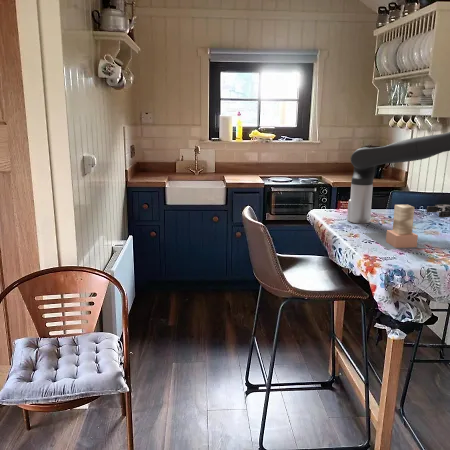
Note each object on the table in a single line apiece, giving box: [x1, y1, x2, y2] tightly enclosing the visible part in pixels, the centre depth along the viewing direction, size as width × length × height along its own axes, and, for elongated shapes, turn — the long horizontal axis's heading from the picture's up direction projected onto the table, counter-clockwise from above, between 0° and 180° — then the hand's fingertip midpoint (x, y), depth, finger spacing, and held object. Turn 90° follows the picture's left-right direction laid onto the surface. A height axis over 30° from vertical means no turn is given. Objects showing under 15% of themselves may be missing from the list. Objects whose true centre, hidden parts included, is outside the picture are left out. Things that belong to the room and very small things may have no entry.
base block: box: [386, 229, 419, 248], centre depth 169 cm, size 8×8×4 cm
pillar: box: [392, 204, 415, 235], centre depth 167 cm, size 5×5×10 cm
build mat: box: [363, 231, 428, 251], centre depth 175 cm, size 15×23×1 cm, turn 5°
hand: (432, 211), depth 168 cm, fingers open, 8 cm apart
